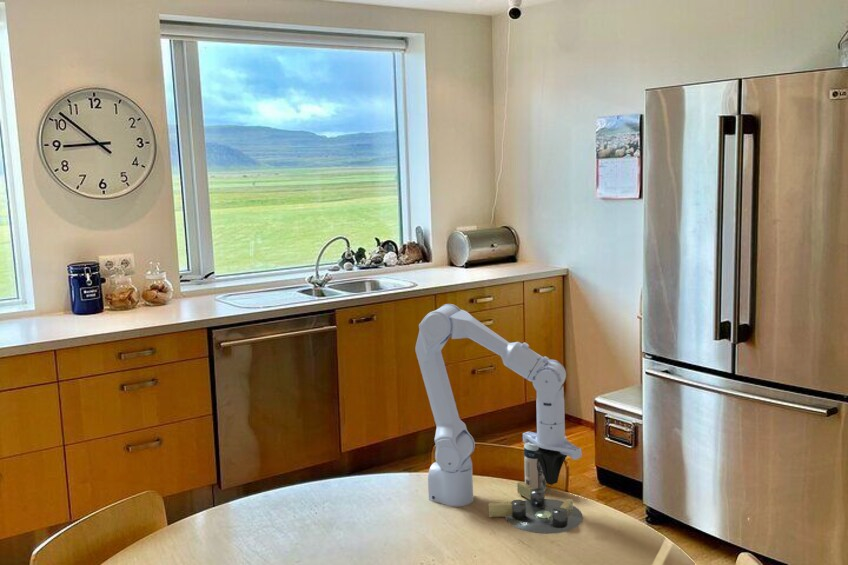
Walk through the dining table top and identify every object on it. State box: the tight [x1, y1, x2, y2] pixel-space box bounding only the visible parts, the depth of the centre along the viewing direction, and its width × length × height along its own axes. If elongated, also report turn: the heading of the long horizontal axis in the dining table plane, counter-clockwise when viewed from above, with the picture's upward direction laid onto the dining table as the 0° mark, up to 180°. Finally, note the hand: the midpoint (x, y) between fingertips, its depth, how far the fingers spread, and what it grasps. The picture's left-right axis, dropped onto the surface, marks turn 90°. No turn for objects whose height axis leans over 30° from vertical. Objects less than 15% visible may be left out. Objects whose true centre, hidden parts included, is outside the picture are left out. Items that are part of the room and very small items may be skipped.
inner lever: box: [487, 499, 526, 519], centre depth 158 cm, size 8×3×3 cm, turn 92°
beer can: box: [523, 442, 547, 492], centre depth 171 cm, size 5×5×12 cm
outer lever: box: [552, 498, 574, 527], centre depth 156 cm, size 8×3×3 cm, turn 150°
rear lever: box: [516, 481, 546, 507], centre depth 166 cm, size 8×3×3 cm, turn 30°
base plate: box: [504, 498, 584, 535], centre depth 159 cm, size 16×16×2 cm
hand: (551, 482), depth 159 cm, fingers closed
